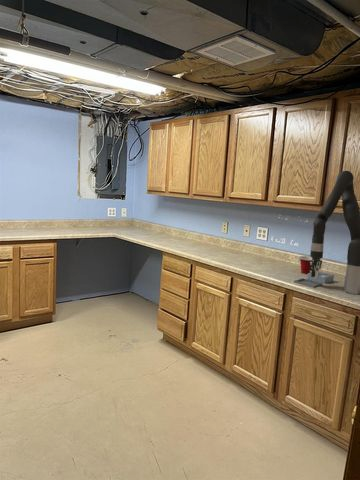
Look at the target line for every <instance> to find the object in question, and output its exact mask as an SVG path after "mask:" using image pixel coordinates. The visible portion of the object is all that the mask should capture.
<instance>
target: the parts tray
mask: <svg viewBox="0 0 360 480" xmlns="http://www.w3.org/2000/svg"><path fill="white" fill-rule="evenodd" d="M293 283H295V284H298V285H302V286H306V287H310V288H313V289H314V288H316V287H320V286H323V284H324V283H320V282H316V281H312V280H308V279H307V278H298V279H296V280H295V279H294V280H293Z"/></svg>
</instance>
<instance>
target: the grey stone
mask: <svg viewBox="0 0 360 480" xmlns="http://www.w3.org/2000/svg"><path fill="white" fill-rule="evenodd" d="M311 278H314V279H318V270H316V271H315V277H311Z"/></svg>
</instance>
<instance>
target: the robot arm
mask: <svg viewBox="0 0 360 480" xmlns="http://www.w3.org/2000/svg"><path fill="white" fill-rule="evenodd" d="M336 177H337V178H336V181H335V184H334V186H333V188H332V190H331V192H330V194H329V196H328V197H327V199H326V200H325V201H324V204H323V205H322V207H321V209H320V211H319V213H318V214H317V216H316V217H315V219H314V220H313V224H312V225H313V233H312V237H311V245H310V252H309V253H310V255H309V257H312V262H309V266H310V273H311V277H315V271H316V270H318V272H320V270H321V268H322V265H323V264H322V263H323V260H322V259H323V257H324V243H325V242H324V241H325V233H326V232H325V231H326V228H327V227H326V226H327V225H326V223H327V222H328V221H329V219H330V217H331V216H332V215H333V213H334V211H335V210H336V207H337V206H338V204H339V202H340V199H341V201H342V202H341V203H342V204H341V205H342V206H341V207H342V214H343V217H344V218H343V219H344V221H345V225H346V226H347V228H348V230H349V234H350V242H349V243H348V245H347V247H348V248H347V254H346V255H347V256H346V260H347V263H346V269H345V277H344V285H343V291H344V292H346V293H348V294H354V295H360V206H359V202H358V199H357V197H356V193H355V188H354V177H355V176H354V175H353V173H352V172H351V171H350V170H343V171H341V172H339V173H338V175H337V176H336Z"/></svg>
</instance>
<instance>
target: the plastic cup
mask: <svg viewBox="0 0 360 480" xmlns="http://www.w3.org/2000/svg"><path fill="white" fill-rule="evenodd" d="M299 261H300V262H299V263H300V273H301V274H304V275H308V273H311V270H310V266H309V262H312V257H310V255H301V256H299Z"/></svg>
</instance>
